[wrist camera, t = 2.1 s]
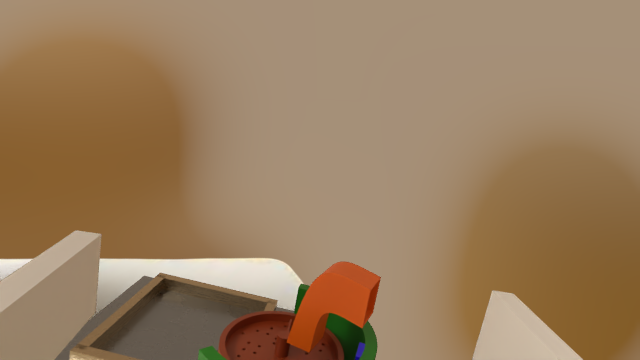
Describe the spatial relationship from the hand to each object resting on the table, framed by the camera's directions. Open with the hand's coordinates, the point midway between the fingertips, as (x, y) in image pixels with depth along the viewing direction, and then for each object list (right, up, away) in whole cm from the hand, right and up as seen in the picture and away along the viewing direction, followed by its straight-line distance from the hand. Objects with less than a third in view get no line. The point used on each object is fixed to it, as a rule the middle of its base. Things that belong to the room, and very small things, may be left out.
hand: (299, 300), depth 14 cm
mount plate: (-13, -13, +30) cm, 35 cm away
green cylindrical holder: (-3, -19, +12) cm, 23 cm away
